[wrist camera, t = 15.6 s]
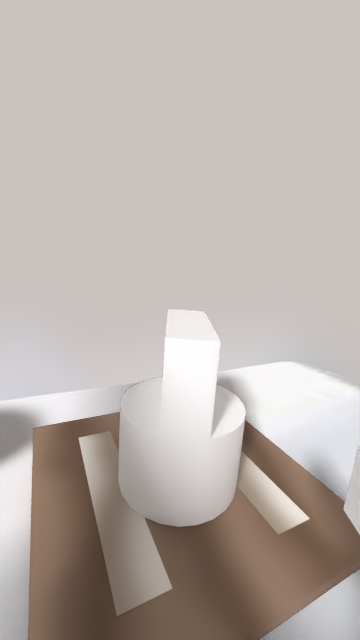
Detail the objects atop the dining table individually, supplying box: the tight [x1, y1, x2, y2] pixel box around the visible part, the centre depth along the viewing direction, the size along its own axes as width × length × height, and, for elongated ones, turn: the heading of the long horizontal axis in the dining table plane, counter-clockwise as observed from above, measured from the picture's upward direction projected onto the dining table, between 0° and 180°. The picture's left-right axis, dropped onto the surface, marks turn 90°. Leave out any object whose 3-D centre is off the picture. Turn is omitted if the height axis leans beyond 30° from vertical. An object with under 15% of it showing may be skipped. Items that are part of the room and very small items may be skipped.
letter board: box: [28, 412, 360, 640], centre depth 22 cm, size 20×20×1 cm
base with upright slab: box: [118, 309, 246, 527], centre depth 20 cm, size 9×9×12 cm
